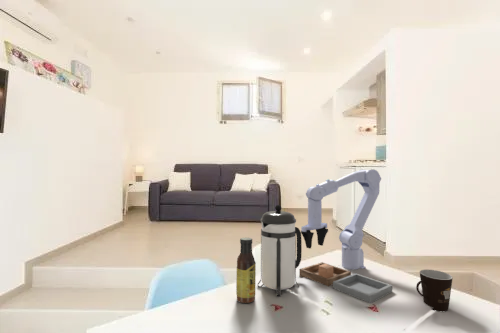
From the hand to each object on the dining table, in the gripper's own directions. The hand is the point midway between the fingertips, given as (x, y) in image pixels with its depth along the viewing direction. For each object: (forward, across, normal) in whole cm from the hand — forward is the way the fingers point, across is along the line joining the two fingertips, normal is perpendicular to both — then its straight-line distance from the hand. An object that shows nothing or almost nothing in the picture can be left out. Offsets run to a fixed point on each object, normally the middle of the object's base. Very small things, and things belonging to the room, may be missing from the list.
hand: (314, 246), depth 120 cm
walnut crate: (+10, -4, -8) cm, 14 cm away
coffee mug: (+10, +4, -43) cm, 44 cm away
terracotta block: (+9, -4, -9) cm, 13 cm away
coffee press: (+10, -24, -4) cm, 26 cm away
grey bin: (+10, -4, -24) cm, 27 cm away
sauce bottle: (+10, -40, -5) cm, 42 cm away
